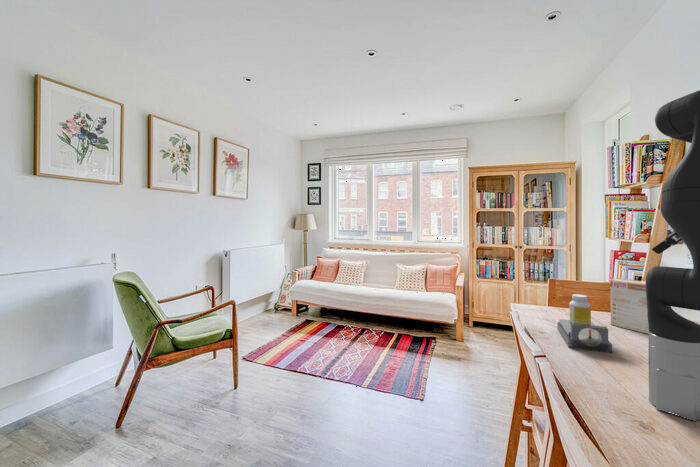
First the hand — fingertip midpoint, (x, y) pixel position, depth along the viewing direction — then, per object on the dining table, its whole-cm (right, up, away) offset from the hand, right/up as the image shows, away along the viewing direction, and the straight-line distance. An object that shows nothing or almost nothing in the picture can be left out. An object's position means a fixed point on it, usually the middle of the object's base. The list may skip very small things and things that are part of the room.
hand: (656, 250), depth 94 cm
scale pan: (-9, -31, +18) cm, 38 cm away
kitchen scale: (-10, -34, +17) cm, 40 cm away
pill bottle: (-9, -30, +20) cm, 37 cm away
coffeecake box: (+20, -34, +27) cm, 47 cm away
